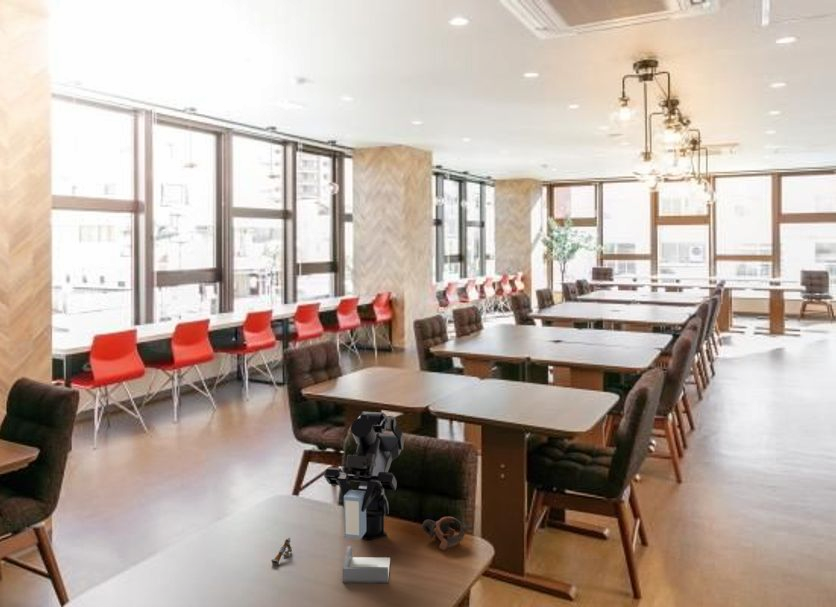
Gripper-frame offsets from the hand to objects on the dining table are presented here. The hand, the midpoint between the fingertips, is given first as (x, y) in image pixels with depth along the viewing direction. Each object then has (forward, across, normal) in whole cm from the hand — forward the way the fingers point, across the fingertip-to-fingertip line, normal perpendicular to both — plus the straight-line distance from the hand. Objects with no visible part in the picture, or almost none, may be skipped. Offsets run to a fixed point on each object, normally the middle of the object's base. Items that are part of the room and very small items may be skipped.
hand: (353, 510), depth 171 cm
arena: (+13, +5, +6) cm, 15 cm away
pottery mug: (-1, +20, +21) cm, 29 cm away
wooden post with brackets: (+13, -18, +7) cm, 23 cm away
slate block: (+4, 0, +6) cm, 7 cm away
